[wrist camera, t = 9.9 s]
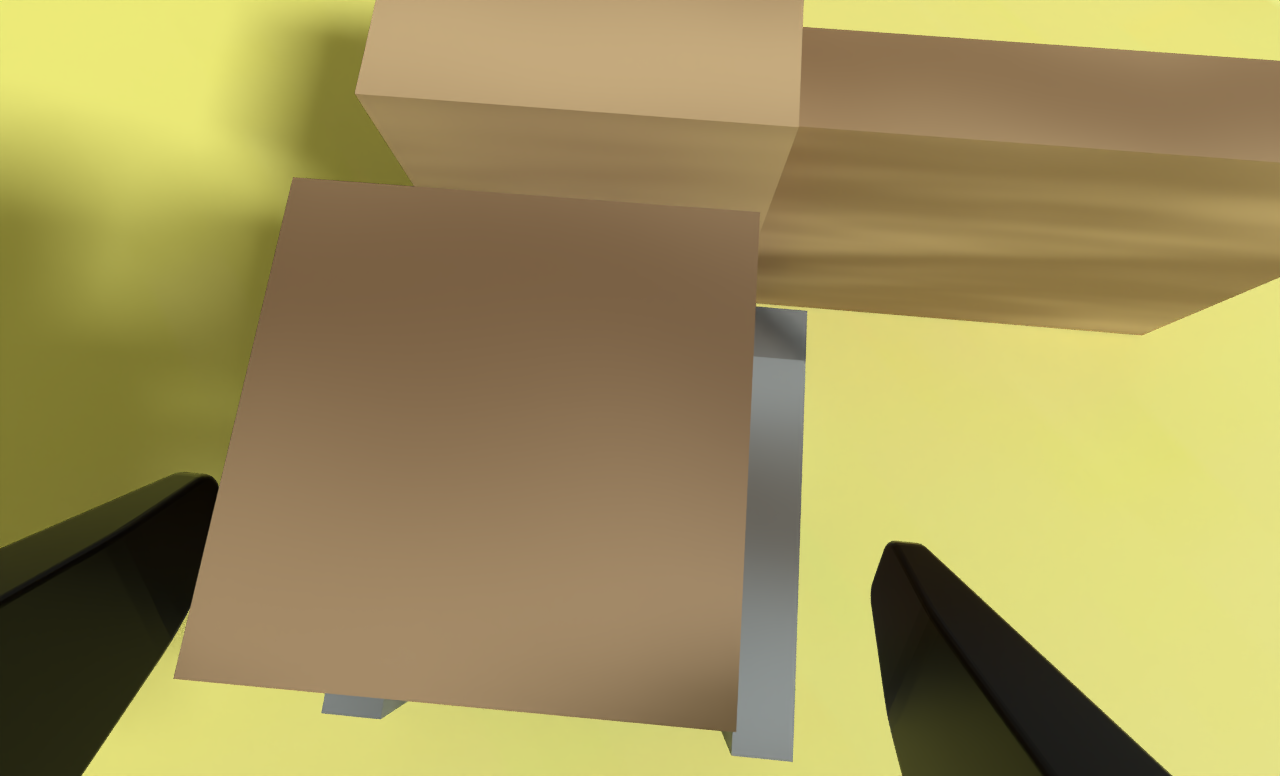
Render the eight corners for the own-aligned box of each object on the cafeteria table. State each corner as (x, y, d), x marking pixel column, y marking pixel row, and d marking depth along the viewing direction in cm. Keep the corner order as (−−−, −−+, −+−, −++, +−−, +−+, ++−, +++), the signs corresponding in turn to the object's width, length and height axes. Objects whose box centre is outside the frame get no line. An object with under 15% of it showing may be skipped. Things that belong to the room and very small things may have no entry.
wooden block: (673, 603, 17) (742, 741, 5) (497, 587, 17) (165, 683, 5) (685, 429, 18) (765, 207, 6) (520, 415, 18) (288, 172, 6)
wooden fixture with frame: (1183, 758, 16) (2057, 1104, 6) (389, 677, 16) (9, 875, 7) (1131, 223, 19) (1635, -110, 9) (475, 171, 20) (309, -193, 10)
